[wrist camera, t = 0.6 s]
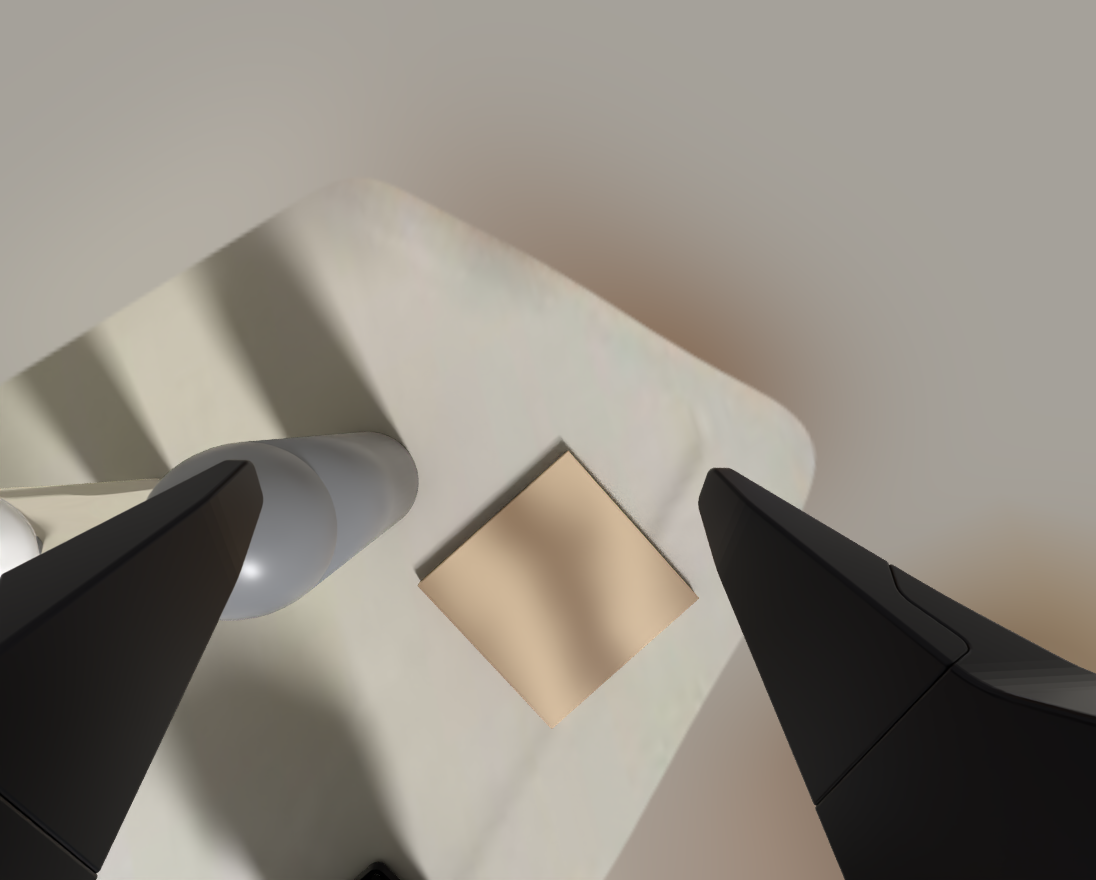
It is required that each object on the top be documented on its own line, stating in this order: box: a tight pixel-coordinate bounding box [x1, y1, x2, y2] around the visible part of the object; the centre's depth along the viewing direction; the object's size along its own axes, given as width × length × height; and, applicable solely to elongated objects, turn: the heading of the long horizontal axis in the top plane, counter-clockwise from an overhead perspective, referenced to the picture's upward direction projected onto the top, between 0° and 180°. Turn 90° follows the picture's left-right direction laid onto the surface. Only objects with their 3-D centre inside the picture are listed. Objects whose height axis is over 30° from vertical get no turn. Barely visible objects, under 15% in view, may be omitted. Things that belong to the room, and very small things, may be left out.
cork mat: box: [418, 451, 699, 729], centre depth 24 cm, size 10×10×1 cm
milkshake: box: [0, 478, 161, 577], centre depth 18 cm, size 4×5×10 cm
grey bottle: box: [146, 432, 418, 621], centre depth 17 cm, size 5×5×14 cm
